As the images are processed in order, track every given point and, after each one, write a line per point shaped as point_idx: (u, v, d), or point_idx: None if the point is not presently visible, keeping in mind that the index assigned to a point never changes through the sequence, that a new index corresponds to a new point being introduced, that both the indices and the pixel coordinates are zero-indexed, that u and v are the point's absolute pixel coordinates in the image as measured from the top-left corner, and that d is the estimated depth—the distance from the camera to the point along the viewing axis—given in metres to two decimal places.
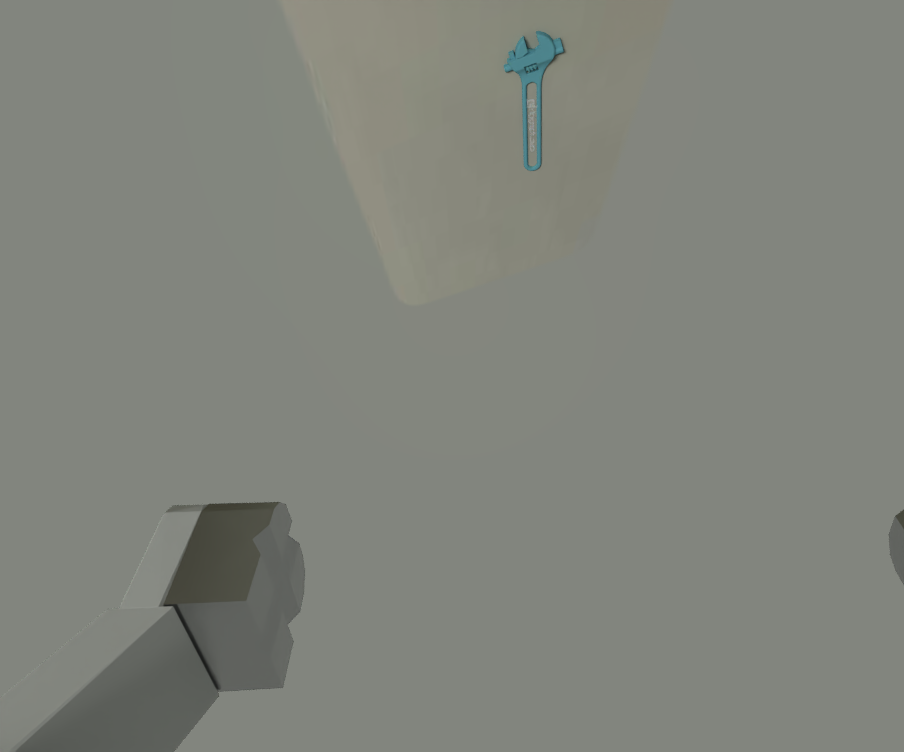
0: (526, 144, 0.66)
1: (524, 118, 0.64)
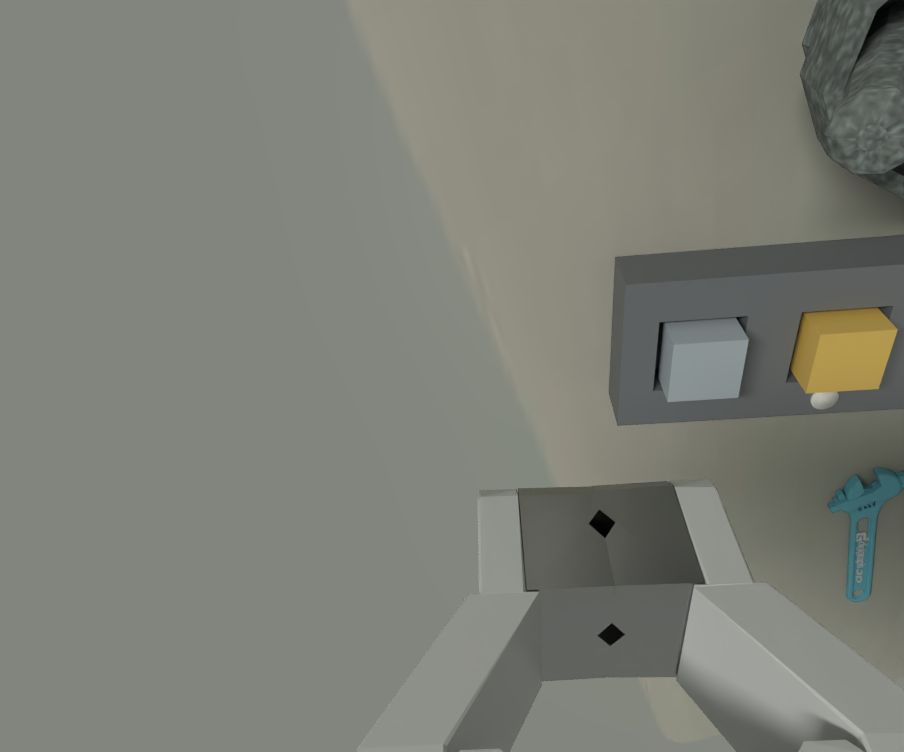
0: (852, 577, 0.51)
1: (852, 553, 0.50)
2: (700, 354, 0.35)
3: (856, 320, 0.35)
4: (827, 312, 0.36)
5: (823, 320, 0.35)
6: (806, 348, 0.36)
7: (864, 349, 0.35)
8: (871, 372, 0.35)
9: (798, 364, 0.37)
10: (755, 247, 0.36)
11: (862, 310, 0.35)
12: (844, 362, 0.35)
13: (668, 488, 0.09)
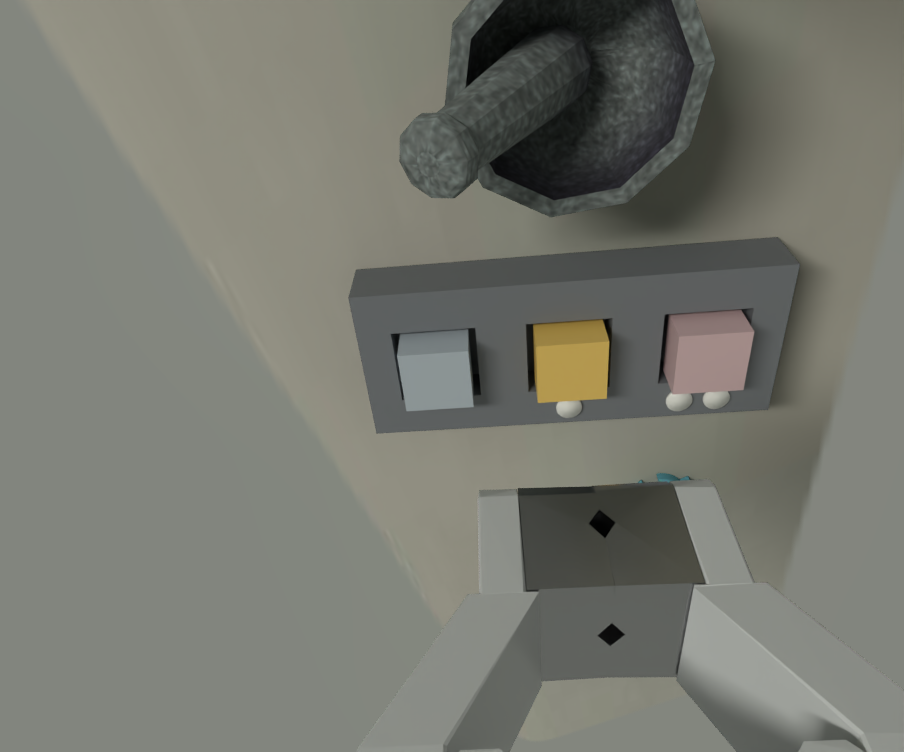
0: None
1: None
2: (424, 365, 0.36)
3: (575, 332, 0.36)
4: (554, 324, 0.37)
5: (546, 332, 0.36)
6: (535, 358, 0.37)
7: (582, 361, 0.35)
8: (595, 382, 0.36)
9: (535, 374, 0.38)
10: (488, 260, 0.37)
11: (587, 322, 0.36)
12: (566, 372, 0.36)
13: (669, 488, 0.09)
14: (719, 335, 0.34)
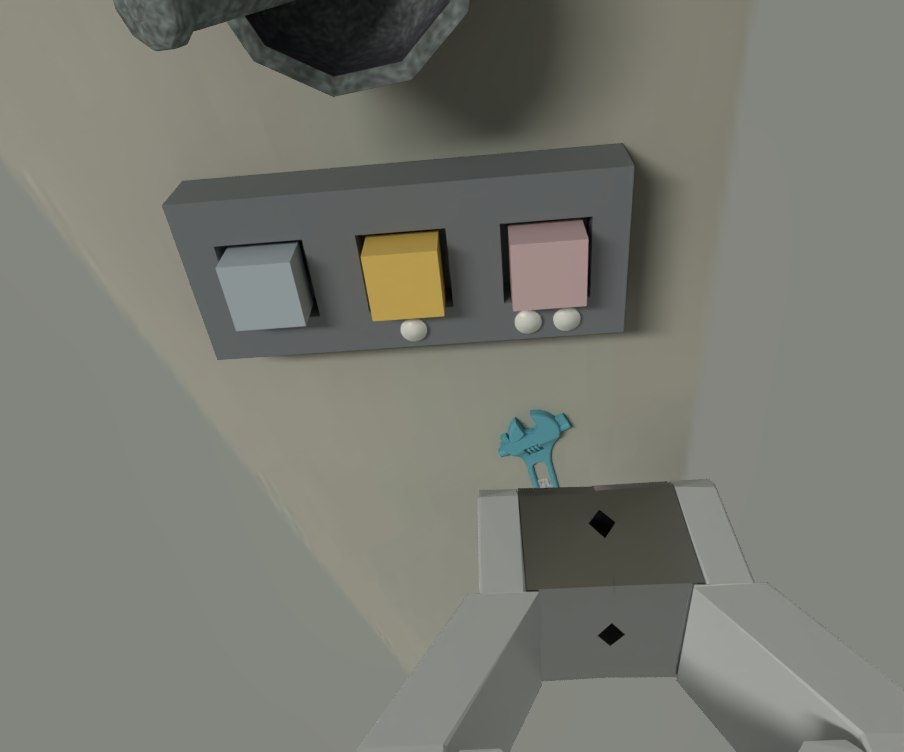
0: None
1: None
2: (246, 278, 0.34)
3: (406, 243, 0.34)
4: (387, 236, 0.34)
5: (376, 243, 0.34)
6: None
7: (412, 273, 0.33)
8: (429, 298, 0.34)
9: None
10: (320, 170, 0.35)
11: (421, 234, 0.34)
12: (397, 286, 0.34)
13: (669, 488, 0.09)
14: (552, 243, 0.32)
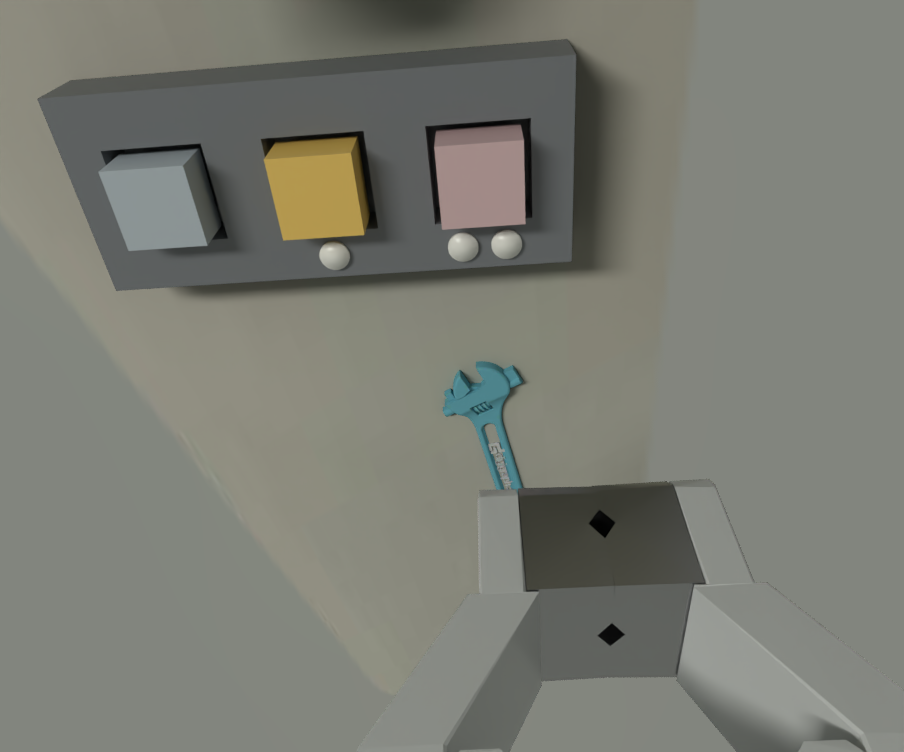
0: None
1: (491, 467, 0.45)
2: (135, 185, 0.29)
3: (318, 147, 0.29)
4: (299, 142, 0.30)
5: (284, 148, 0.30)
6: None
7: (324, 181, 0.29)
8: (346, 212, 0.30)
9: None
10: (226, 68, 0.31)
11: (337, 140, 0.30)
12: (308, 197, 0.30)
13: (668, 488, 0.09)
14: (483, 145, 0.28)
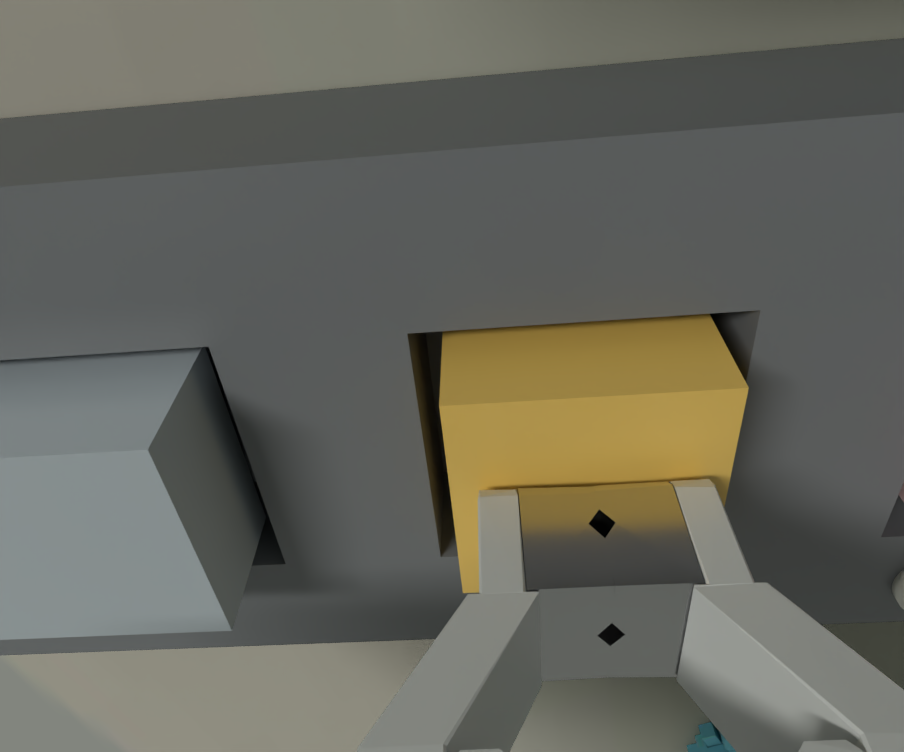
0: None
1: None
2: None
3: (603, 347, 0.09)
4: None
5: (488, 344, 0.09)
6: None
7: (629, 461, 0.09)
8: None
9: None
10: (283, 96, 0.10)
11: None
12: None
13: (669, 488, 0.09)
14: None
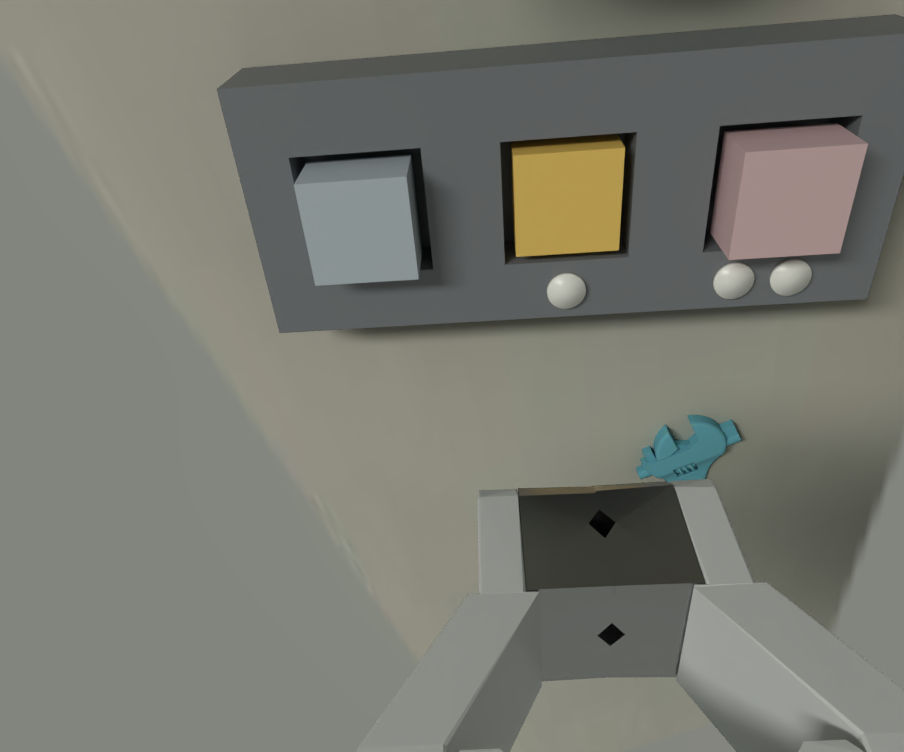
0: None
1: None
2: (338, 202, 0.23)
3: (574, 141, 0.24)
4: None
5: (529, 142, 0.24)
6: None
7: (583, 182, 0.23)
8: (602, 222, 0.24)
9: (513, 218, 0.26)
10: (445, 52, 0.24)
11: None
12: (559, 204, 0.24)
13: (669, 488, 0.09)
14: (811, 150, 0.21)
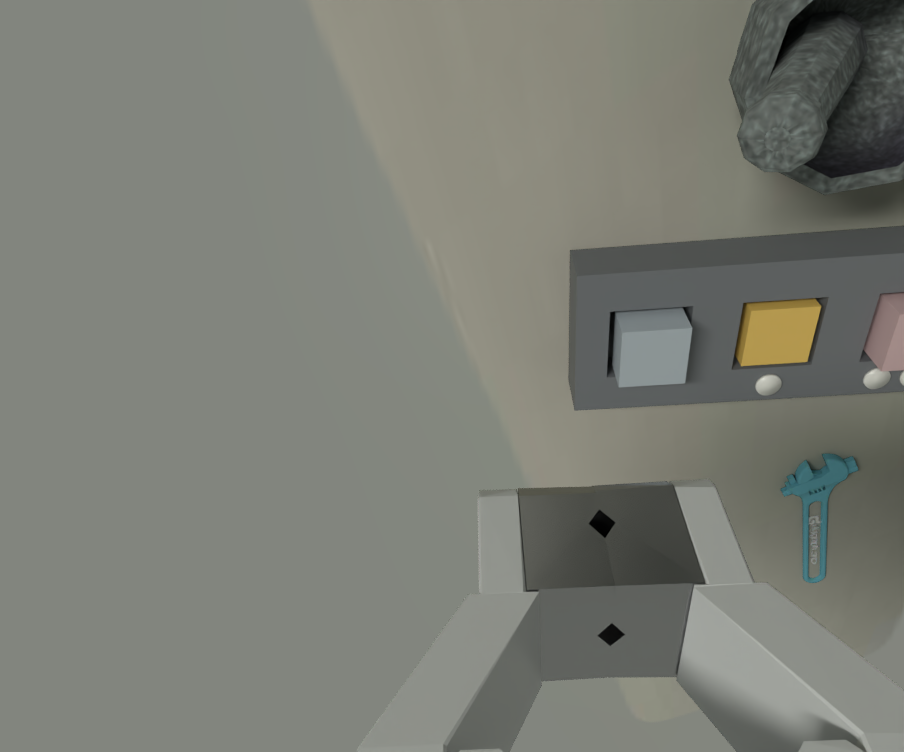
0: (807, 558, 0.54)
1: (806, 535, 0.52)
2: (647, 341, 0.37)
3: None
4: None
5: None
6: (741, 324, 0.39)
7: (792, 325, 0.38)
8: (799, 346, 0.39)
9: None
10: (701, 241, 0.38)
11: None
12: (774, 336, 0.38)
13: (668, 489, 0.09)
14: None
